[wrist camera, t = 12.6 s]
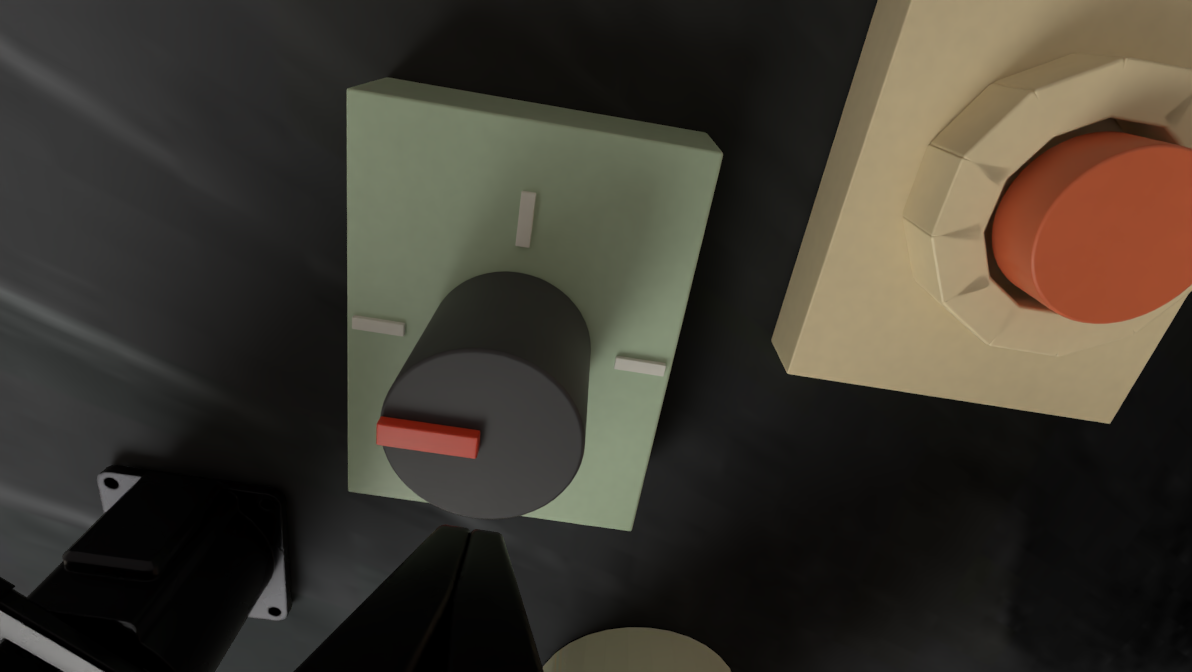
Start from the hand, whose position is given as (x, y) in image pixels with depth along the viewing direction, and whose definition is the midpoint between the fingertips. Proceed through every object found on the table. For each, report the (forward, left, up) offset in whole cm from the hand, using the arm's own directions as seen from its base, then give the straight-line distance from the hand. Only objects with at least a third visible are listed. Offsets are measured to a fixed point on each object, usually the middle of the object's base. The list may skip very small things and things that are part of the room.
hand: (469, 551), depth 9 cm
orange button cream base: (+4, -12, -12) cm, 18 cm away
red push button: (+4, -12, -9) cm, 16 cm away
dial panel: (-2, +1, -12) cm, 12 cm away
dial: (-2, +1, -9) cm, 9 cm away
